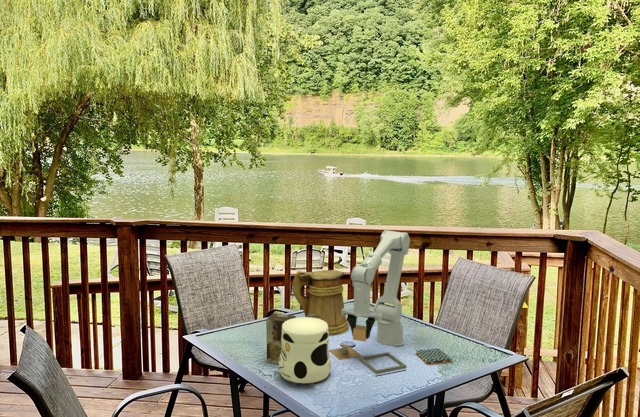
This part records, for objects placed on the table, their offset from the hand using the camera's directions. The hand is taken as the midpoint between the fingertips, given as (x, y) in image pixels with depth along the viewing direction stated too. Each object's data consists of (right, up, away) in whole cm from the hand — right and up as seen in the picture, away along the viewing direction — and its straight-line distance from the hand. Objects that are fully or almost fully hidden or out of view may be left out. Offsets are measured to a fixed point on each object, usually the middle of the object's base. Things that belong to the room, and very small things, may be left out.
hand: (361, 336), depth 183 cm
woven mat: (+27, -10, +4) cm, 29 cm away
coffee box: (-29, -9, 0) cm, 30 cm away
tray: (+7, -10, -4) cm, 12 cm away
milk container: (-20, -11, -12) cm, 26 cm away
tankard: (-14, -5, +30) cm, 34 cm away
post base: (-5, -8, +5) cm, 11 cm away
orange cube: (0, -1, 0) cm, 1 cm away
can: (-18, -7, +13) cm, 23 cm away
